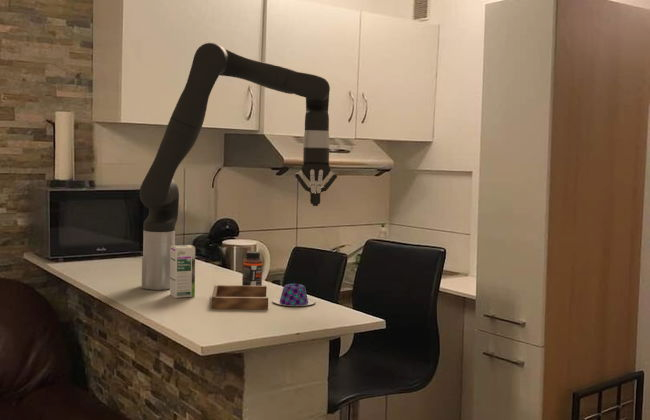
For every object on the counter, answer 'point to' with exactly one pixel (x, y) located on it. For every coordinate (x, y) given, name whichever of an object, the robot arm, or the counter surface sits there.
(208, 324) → the counter surface
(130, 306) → the counter surface
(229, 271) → the counter surface
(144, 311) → the counter surface
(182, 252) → the syrup box
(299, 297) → the pudding
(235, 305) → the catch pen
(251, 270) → the supplement bottle
